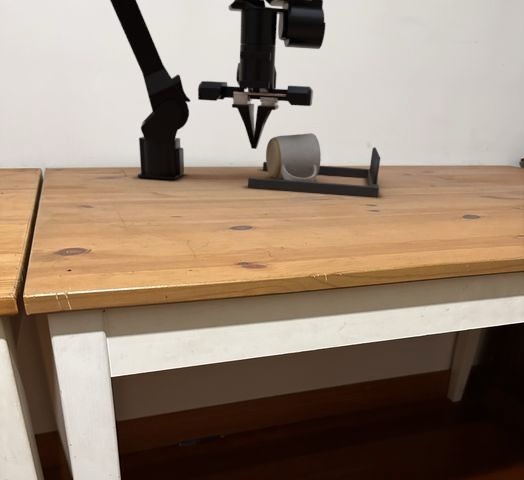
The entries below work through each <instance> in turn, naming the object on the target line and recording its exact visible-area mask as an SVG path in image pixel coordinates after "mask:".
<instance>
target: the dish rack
mask: <svg viewBox="0 0 524 480" xmlns="http://www.w3.org/2000/svg"><path fill="white" fill-rule="evenodd" d="M380 163H381V156H380V154H379V152H378V150H377V148H376V147H375V146H374V147H372V150H371V158H370V163H369V168H361V167H345V166H331V165H320V168H319V172H318V174H317V175H318V176H319V175H320V176H321V175H322V176H335V177H337V176H338V177H349V178H350V177H351V178H365V179H367V183H368V185H364V184H361V185H360V184H348V183H332V182H320V181H314V182H308V181H293V180H279V179H274V178H263V177H247V188H248V189H258V190H274V191H287V192H299V193H300V192H302V193H315V194H326V195H327V194H330V195H343V196H355V197H356V196H357V197H369V198H378V196H379V189H380V188H379V184H378V177H379V171H380ZM262 171H264V172H268V169H267V164H266V161H263V163H262Z"/></svg>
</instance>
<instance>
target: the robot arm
mask: <svg viewBox="0 0 524 480" xmlns="http://www.w3.org/2000/svg"><path fill="white" fill-rule="evenodd" d="M109 2H110V3H111V5H112V8H113V11H114V12H115V14H116V17H117V19H118V21H119V24H120V26H121V28H122V30H123V33H124V35H125V37H126V39H127V42H128V44H129V46H130V49H131V51H132V54H133V55H134V57H135V60H136V62H137V64H138V66H139V69H140V71H141V73H142V77H143V80H144V84H145V87H146V92H147V96H148V99H149V104H150V107H151V111H152V112H150V114H149V115H148V116H147V117H146V118H145V119H144V120H143V121H142V123H141V126H140V131H141V133H142V135H143V136H141V137H139V138H138V143H139V144H138V146H139V161H140V173H137V177H138V178H145V179H157V180H158V179H159V180H172V181H173V180H176V179H178V178H180V177H181V176H183V175H184V174H185V163H184V162H185V157H184V156H185V155H184V153H185V152H184V148H183V147H181V137H176V136H177V134H178V131H179V130H180V129H182V128H184V126H185V125H186V124H187V122H188V120H189V117H190V110H189V105H188V103H191V99H190V98H189V97H188V96H187V94H186V92H185V90H184V87H183V81H182V78H181V75H180V74H176V75H174V76H173V77H171V75H170V73H169V72H168V70H167V69H166V67H165V65H164V63H163V61H162V59H161V56H160V54H159V51H158V49H157V46H156V45H155V42H154V39H153V37H152V34H151V32H150V30H149V28H148V25H147V23H146V21H145V19H144V16H143V13H142V10H141V9H140V6H139V4H138V1H137V0H109ZM266 3H267V4H268V5H269V6H266ZM323 5H324V0H233V2H232V3H230V4H229V5H228V10H229V11H230V12H240V38H239V40H240V42H239V43H240V44H239V45H240V46H239V62H238V63H237V68H236V76H235V77H236V79H235V80H236V83H237V85H238V86H231V85H228V82H227V81H214V80H213V81H212V80H202V81H200V83H199V84H198V86H197V98H198V100H199V101H211V102H213V101H214V102H216V101H218V100H225V99H226V98H228V99H232V100H233V101H232V104H231V108H234V109H237V111H238V113H239V116H240V118H241V120H242V122H243V125H244V127H245V131H246V134H247V135H246V136H247V138H248V142H249V145H250V148H251V149H252V150H254V149H255V150H256V149H257V148H258V146H259V143H260V139H261V137H262V134H263V131H264V129H265V126H266V123H267V121H268V119H269V117H270V115H271V113H272V111H276V110H278V109H279V107H280V105H279V103H280V101H281V102H288V104H290V106H299V107H300V106H301V107H302V106H303V107H311V106H312V105H313V97H314V96H313V95H314V90H313V89H312V87H311V86H305V85H304V86H303V85H287V88H286V89H285V88H277V77H278V76H277V75H278V74H277V69H276V65H275V64H276V46H277V36H278V40H280V41H283V46H284V47H285V48H292V49H293V48H295V49H297V48H298V49H309V50H311V49H312V50H314V49H315V50H320V49H321V47H322V45H323V42H324V40H325V32H326V22H325V12H324V8H323ZM270 6H271V7H270ZM279 7H280V8H279ZM277 26H278V27H277ZM277 31H278V33H277ZM245 90H247V91H245ZM253 100H259V101H260V104H259V105H257V107H256V115H255V114H254V113H255V103H252V102H253ZM187 102H188V103H187Z"/></svg>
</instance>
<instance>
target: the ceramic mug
mask: <svg viewBox="0 0 524 480" xmlns="http://www.w3.org/2000/svg"><path fill="white" fill-rule="evenodd" d="M321 153H322V152H321V146H320V142H319V140H318V137H317V135H316V134H314V133H313V132H312V133H311V132H310V133H299V134H298V133H297V134H286V135H277V136H274V137H272V138H270V139H269V141H268V143H267V144H266V150H265V162H266V164H267V169H268V171H267V172H268V175H269V176H270V177H271V179H279V180H293V181H308V182H316V178H317V177H318V175H319V174H318V172H319V168H320V166H321V159H322V157H321V156H322V154H321Z"/></svg>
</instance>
